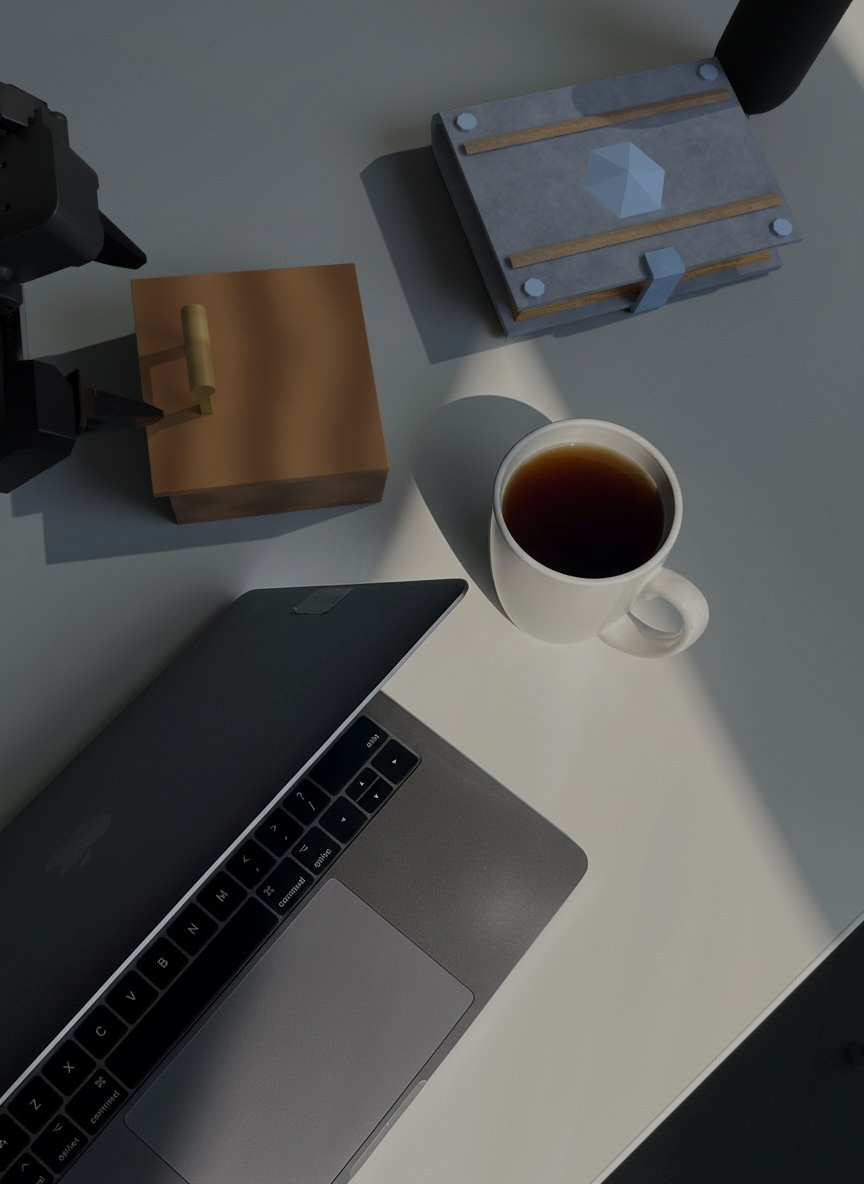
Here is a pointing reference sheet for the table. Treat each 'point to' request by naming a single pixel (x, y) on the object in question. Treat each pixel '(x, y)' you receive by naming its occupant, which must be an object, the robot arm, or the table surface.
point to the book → (612, 194)
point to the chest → (278, 498)
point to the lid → (257, 378)
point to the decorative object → (774, 47)
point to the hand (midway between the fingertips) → (150, 338)
